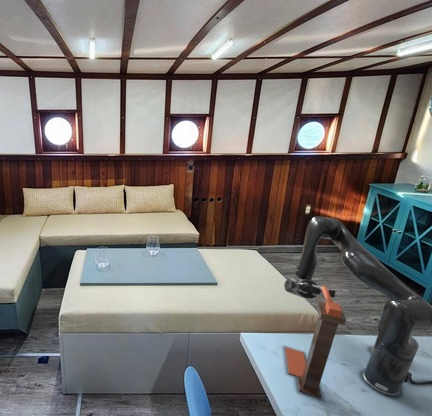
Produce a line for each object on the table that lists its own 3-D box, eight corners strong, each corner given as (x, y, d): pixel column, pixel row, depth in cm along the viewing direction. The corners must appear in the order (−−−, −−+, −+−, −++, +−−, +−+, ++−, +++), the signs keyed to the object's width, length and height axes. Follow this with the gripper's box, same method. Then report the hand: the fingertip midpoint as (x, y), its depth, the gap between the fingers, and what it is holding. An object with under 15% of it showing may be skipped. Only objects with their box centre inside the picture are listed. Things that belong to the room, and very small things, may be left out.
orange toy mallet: (317, 288, 98) (319, 281, 97) (328, 290, 96) (330, 284, 96) (327, 315, 84) (329, 308, 84) (339, 318, 83) (342, 311, 82)
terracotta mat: (285, 348, 113) (285, 347, 113) (303, 353, 110) (303, 352, 110) (288, 373, 102) (288, 372, 102) (308, 380, 99) (308, 379, 99)
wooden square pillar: (296, 376, 101) (317, 301, 91) (317, 383, 98) (340, 306, 88) (299, 392, 95) (321, 313, 85) (320, 399, 93) (346, 319, 83)
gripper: (287, 275, 123) (294, 275, 108) (327, 283, 117) (340, 284, 103) (285, 293, 122) (292, 295, 107) (325, 302, 116) (338, 305, 101)
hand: (316, 289), depth 105 cm, fingers open, 8 cm apart
